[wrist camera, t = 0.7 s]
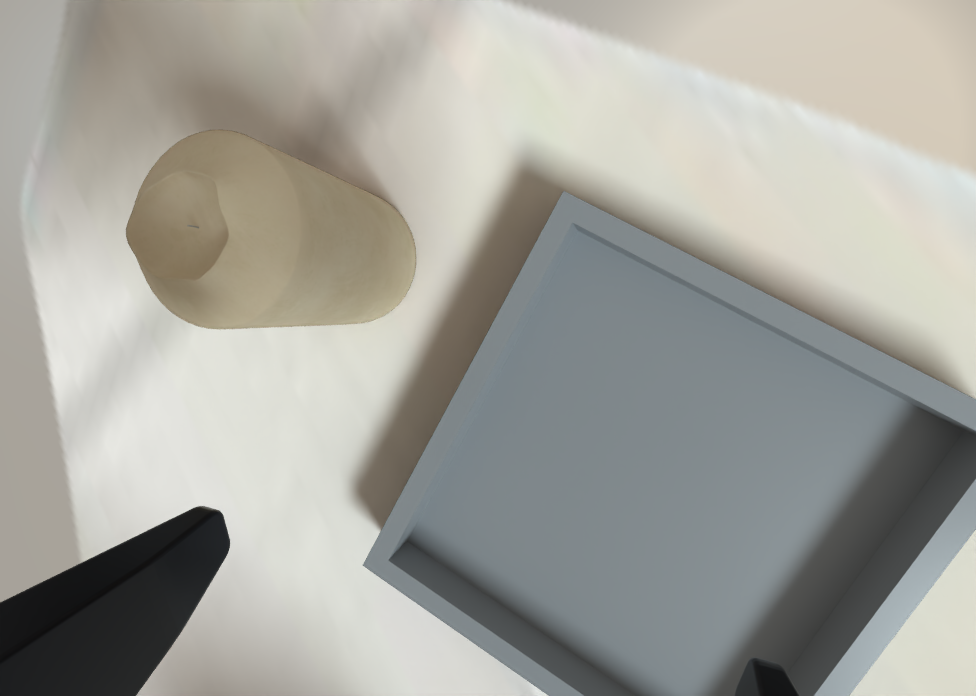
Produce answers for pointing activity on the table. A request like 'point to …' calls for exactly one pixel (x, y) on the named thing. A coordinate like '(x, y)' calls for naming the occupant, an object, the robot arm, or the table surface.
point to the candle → (265, 239)
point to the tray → (677, 480)
